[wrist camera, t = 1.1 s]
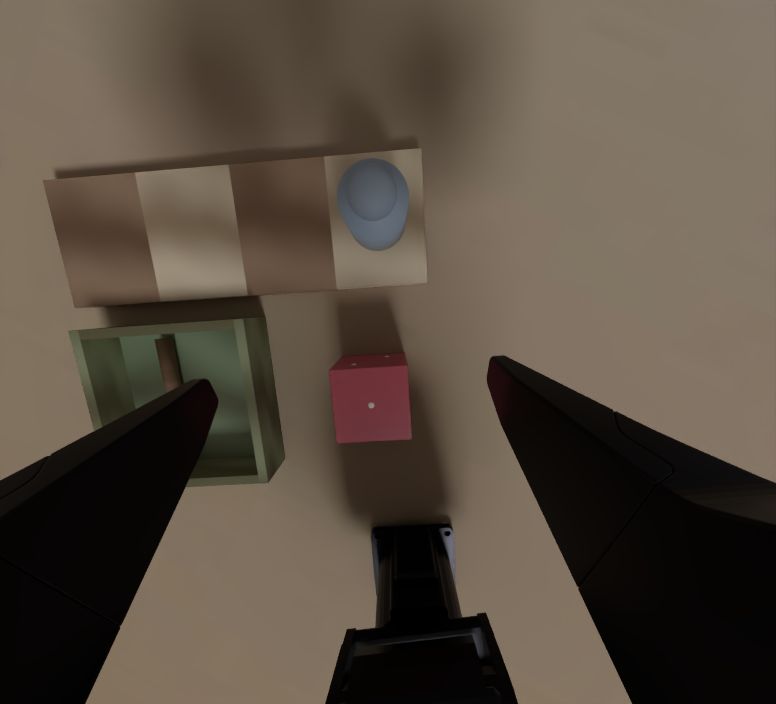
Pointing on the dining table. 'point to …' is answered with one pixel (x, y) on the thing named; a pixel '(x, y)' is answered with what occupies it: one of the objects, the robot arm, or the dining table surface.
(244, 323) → the tray
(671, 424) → the dining table surface
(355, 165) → the pawn
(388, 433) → the die
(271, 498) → the dining table surface
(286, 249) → the board
